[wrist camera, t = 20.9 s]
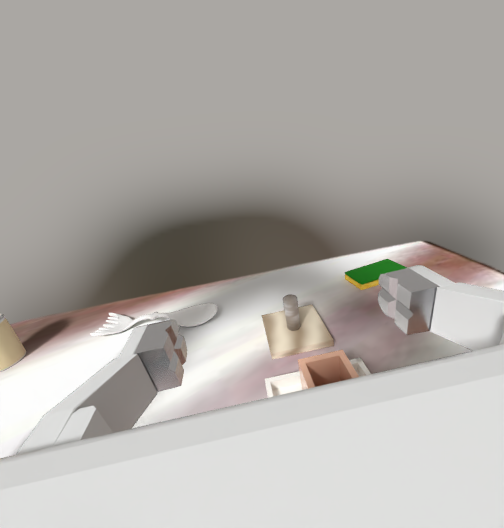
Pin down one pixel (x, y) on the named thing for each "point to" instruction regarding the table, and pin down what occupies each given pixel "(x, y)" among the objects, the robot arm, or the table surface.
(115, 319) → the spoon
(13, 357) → the coffee cup
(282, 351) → the stand
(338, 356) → the sleeve
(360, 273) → the dish sponge
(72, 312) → the table surface
